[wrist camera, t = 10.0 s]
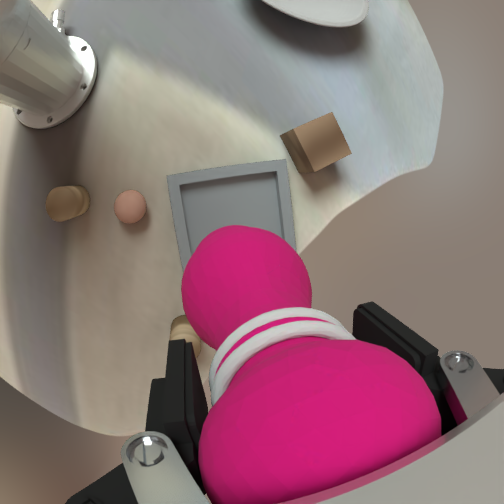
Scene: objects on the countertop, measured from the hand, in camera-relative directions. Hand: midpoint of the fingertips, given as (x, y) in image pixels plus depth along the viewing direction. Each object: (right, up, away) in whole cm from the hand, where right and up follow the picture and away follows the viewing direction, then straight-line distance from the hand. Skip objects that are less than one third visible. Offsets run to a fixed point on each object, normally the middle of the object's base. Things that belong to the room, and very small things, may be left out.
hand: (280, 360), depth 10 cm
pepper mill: (-2, +3, +11) cm, 12 cm away
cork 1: (-21, +10, +20) cm, 31 cm away
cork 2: (-9, -6, +26) cm, 28 cm away
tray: (-3, +7, +24) cm, 26 cm away
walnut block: (+6, +17, +24) cm, 30 cm away
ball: (-14, +9, +20) cm, 26 cm away
